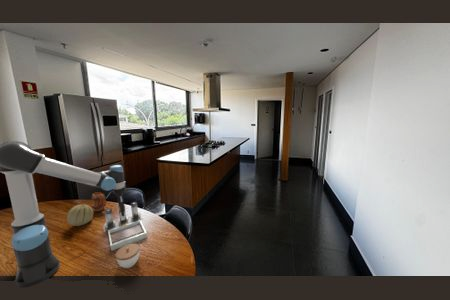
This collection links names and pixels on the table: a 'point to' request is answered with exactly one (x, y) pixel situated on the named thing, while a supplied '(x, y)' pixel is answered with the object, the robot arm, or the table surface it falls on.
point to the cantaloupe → (80, 215)
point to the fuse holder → (118, 224)
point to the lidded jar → (128, 255)
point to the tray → (129, 239)
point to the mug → (98, 201)
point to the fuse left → (109, 217)
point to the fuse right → (134, 210)
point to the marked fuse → (120, 216)
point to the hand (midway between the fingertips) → (122, 218)
